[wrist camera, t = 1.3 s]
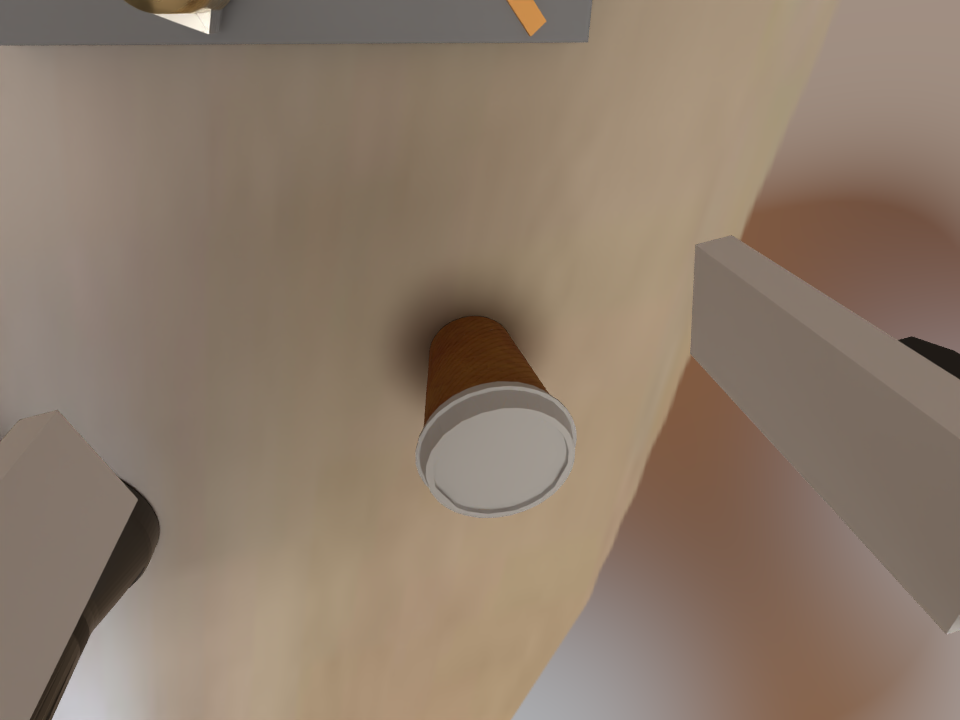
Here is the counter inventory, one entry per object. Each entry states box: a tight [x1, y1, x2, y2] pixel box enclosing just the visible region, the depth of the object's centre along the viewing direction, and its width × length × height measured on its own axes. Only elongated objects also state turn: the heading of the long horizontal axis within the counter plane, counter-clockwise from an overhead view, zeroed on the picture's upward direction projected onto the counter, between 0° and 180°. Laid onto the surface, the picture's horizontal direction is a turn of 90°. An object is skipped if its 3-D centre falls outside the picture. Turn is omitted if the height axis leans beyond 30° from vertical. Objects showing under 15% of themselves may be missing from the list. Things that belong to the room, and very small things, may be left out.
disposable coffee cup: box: [416, 316, 576, 518], centre depth 34 cm, size 10×10×12 cm
